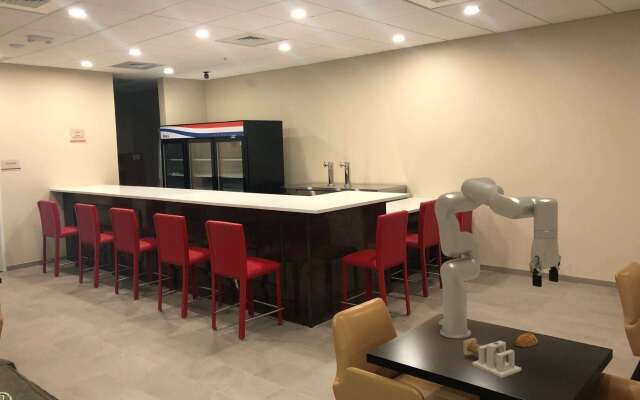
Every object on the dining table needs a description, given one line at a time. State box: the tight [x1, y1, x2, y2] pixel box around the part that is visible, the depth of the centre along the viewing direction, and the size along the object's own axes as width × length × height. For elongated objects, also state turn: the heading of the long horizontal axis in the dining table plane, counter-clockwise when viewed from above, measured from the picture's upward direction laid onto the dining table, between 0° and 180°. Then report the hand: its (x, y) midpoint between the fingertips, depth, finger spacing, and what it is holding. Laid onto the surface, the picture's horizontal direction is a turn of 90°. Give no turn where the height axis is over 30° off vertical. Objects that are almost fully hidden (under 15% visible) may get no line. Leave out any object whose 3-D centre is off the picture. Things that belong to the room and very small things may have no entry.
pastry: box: [514, 332, 539, 348], centre depth 202 cm, size 9×7×4 cm
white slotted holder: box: [471, 340, 522, 379], centre depth 181 cm, size 13×10×9 cm
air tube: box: [462, 337, 507, 363], centre depth 186 cm, size 16×5×5 cm, turn 30°
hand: (545, 283), depth 176 cm, fingers open, 9 cm apart
